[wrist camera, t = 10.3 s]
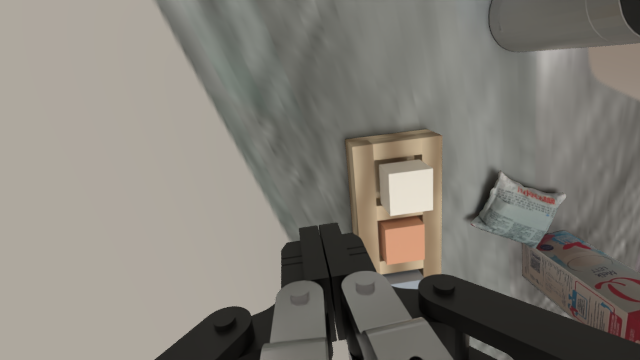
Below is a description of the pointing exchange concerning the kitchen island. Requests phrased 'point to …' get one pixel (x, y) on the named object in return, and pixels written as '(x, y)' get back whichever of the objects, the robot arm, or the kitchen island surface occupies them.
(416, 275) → the slate key
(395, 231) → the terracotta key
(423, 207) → the white square block
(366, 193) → the light brown rectangular frame
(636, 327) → the juice carton
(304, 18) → the kitchen island surface
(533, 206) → the packaged food
